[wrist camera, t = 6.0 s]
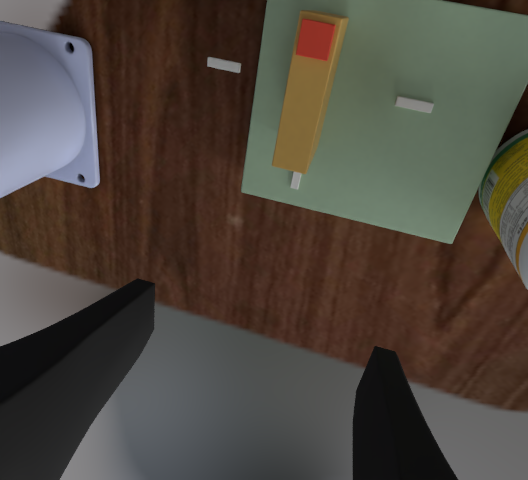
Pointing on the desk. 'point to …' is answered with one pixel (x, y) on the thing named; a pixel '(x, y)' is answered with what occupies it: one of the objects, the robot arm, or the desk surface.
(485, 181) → the supplement bottle
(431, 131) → the lock plate
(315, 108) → the block
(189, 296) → the desk surface
